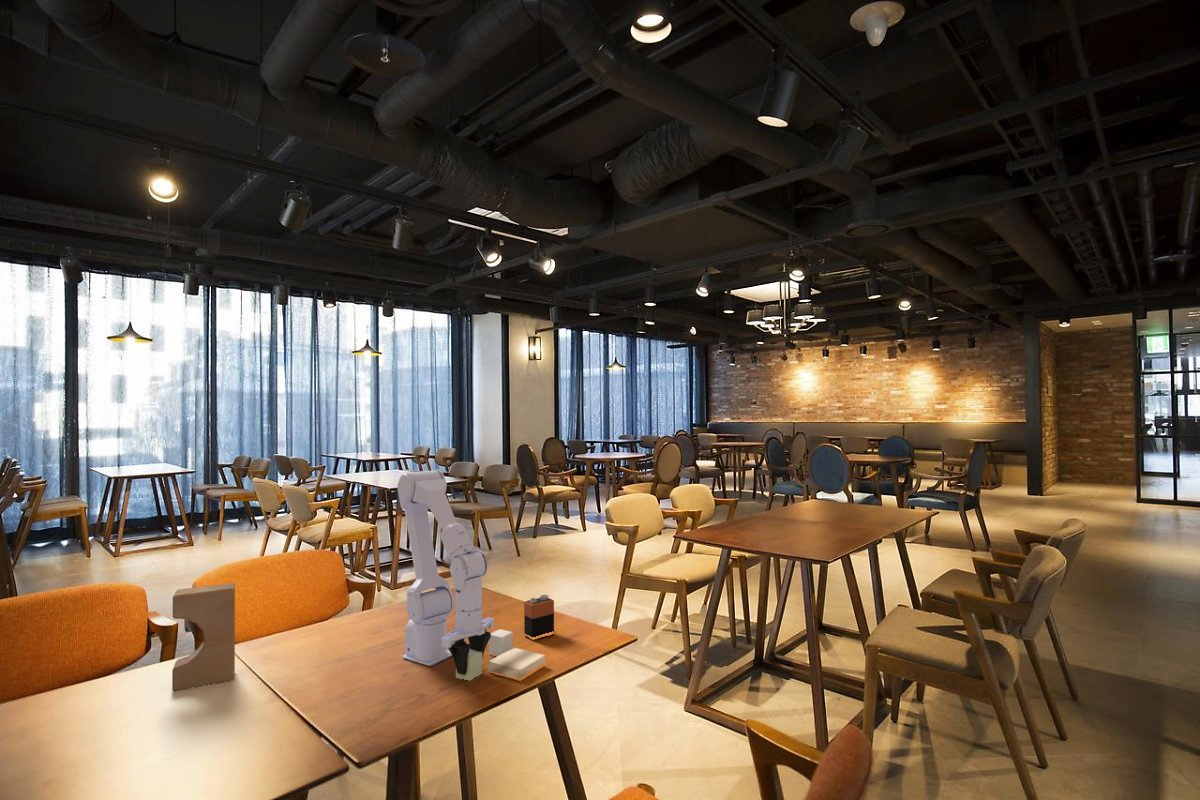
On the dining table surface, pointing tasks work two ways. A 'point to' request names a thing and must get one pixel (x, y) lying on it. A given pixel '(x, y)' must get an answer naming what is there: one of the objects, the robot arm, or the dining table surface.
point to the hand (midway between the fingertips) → (469, 669)
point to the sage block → (472, 665)
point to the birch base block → (515, 662)
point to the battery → (538, 616)
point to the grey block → (500, 642)
